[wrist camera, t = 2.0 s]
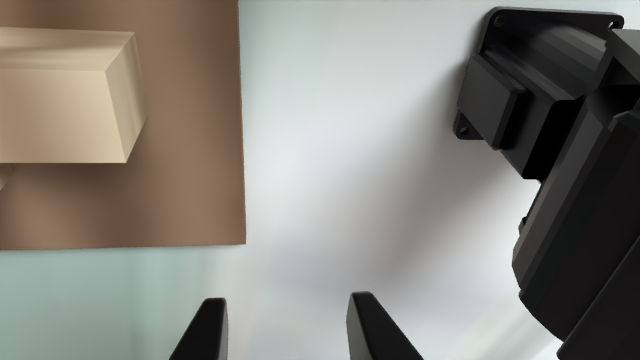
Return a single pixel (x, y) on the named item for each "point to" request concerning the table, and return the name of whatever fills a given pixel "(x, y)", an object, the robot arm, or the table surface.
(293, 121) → the table surface
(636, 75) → the robot arm
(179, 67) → the board
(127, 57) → the t block
